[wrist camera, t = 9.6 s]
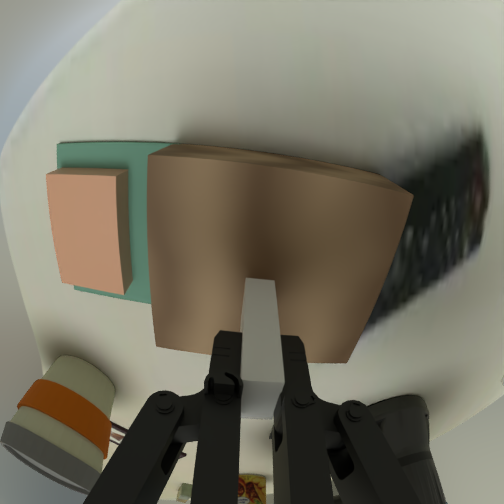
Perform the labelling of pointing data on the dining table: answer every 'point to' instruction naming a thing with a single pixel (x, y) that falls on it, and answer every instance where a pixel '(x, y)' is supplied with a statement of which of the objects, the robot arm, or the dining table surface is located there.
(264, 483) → the canned food
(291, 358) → the robot arm
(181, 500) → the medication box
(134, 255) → the mat
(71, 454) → the reusable coffee cup
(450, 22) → the dining table surface
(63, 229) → the peach box
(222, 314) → the brown wooden block
